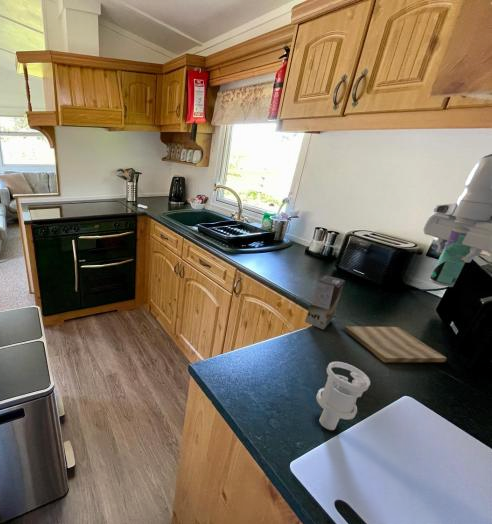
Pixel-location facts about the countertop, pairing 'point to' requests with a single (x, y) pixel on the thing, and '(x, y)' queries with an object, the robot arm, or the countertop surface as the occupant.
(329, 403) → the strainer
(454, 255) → the spray can
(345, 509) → the countertop surface
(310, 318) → the coffee box
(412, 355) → the chopping board
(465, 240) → the robot arm
